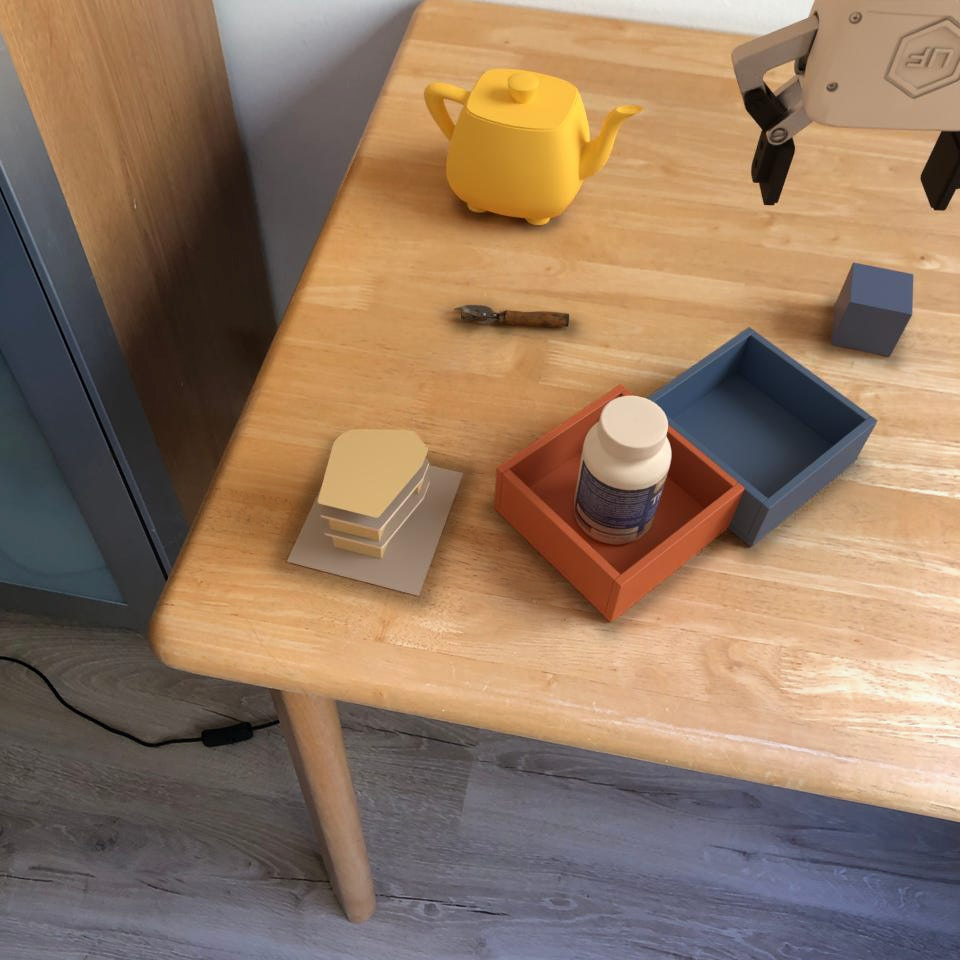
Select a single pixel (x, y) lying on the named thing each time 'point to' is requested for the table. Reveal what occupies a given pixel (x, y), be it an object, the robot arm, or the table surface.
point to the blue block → (872, 309)
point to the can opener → (515, 316)
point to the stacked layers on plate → (378, 510)
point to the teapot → (521, 142)
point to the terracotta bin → (600, 566)
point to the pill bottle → (622, 471)
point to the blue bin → (765, 427)
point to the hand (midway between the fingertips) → (848, 192)
